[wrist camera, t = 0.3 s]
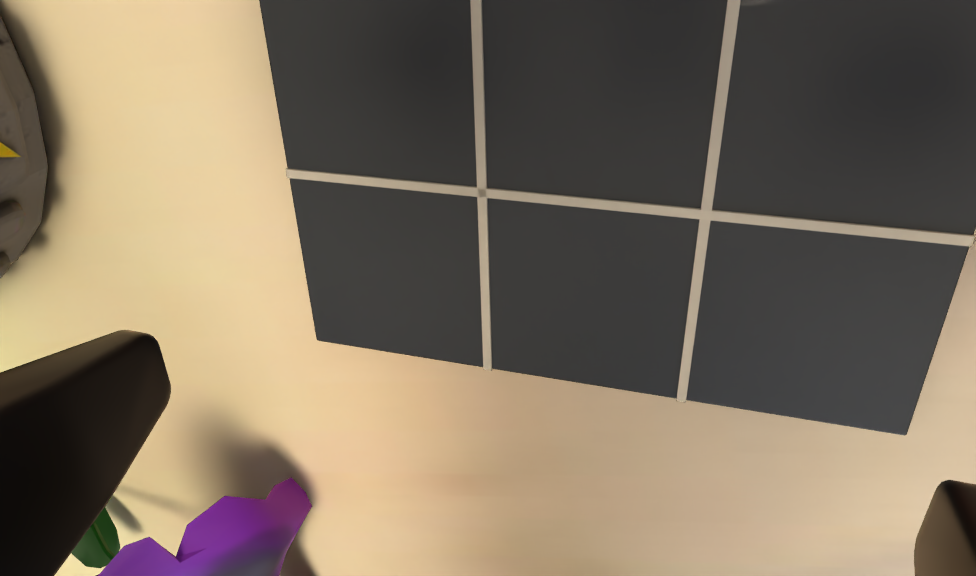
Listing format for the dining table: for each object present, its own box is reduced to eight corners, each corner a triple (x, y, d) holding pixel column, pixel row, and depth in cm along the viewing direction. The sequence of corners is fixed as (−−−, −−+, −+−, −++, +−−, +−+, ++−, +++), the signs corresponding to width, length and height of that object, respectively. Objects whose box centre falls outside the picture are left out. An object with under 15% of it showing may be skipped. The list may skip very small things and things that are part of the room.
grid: (903, 425, 24) (907, 438, 23) (322, 333, 29) (315, 342, 28) (1191, -448, 13) (1208, -459, 13) (211, -345, 19) (196, -350, 18)
